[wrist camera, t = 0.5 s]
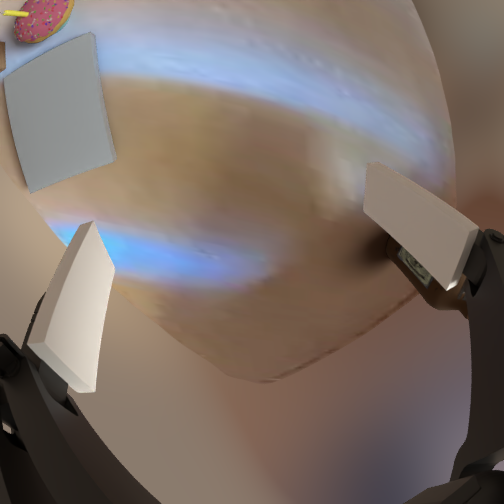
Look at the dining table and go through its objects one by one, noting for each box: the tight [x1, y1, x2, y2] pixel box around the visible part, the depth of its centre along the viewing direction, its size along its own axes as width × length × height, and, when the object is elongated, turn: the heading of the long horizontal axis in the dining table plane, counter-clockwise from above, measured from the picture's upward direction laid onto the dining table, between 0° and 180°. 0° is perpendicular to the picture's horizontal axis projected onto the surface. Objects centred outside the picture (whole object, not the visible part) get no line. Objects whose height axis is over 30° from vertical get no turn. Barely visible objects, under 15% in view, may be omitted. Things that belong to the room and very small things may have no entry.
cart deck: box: [4, 32, 117, 194], centre depth 24 cm, size 18×14×3 cm
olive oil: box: [386, 236, 469, 320], centre depth 43 cm, size 11×11×25 cm
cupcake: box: [0, 0, 74, 43], centre depth 12 cm, size 9×8×12 cm
